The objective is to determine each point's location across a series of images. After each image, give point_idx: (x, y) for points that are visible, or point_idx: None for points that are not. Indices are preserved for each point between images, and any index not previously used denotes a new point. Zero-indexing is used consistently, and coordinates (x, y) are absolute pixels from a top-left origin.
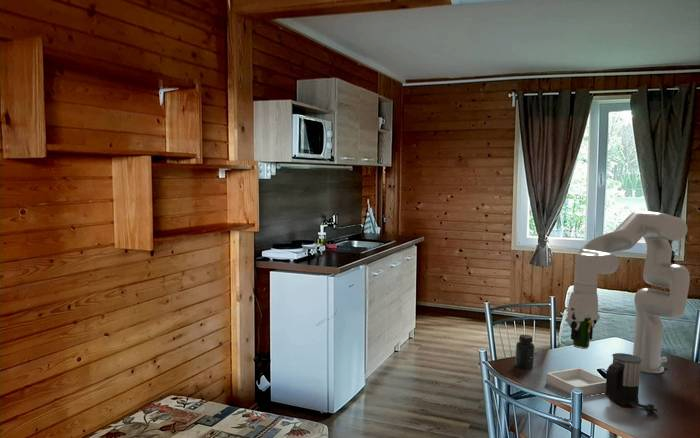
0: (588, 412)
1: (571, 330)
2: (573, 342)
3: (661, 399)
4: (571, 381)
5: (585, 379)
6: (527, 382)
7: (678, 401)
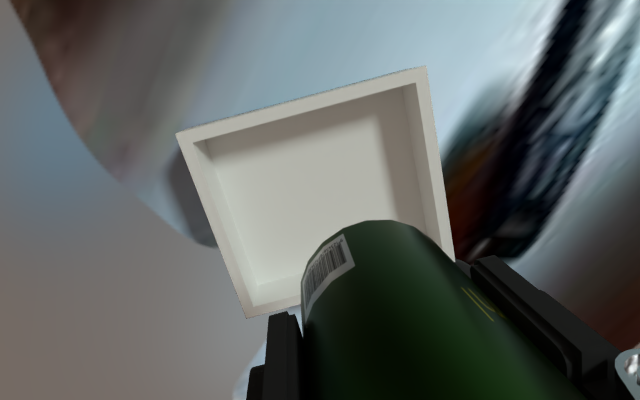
0: (239, 384)
1: (263, 397)
2: (301, 293)
3: (573, 303)
4: (321, 143)
5: (407, 125)
6: (100, 99)
7: (614, 320)
